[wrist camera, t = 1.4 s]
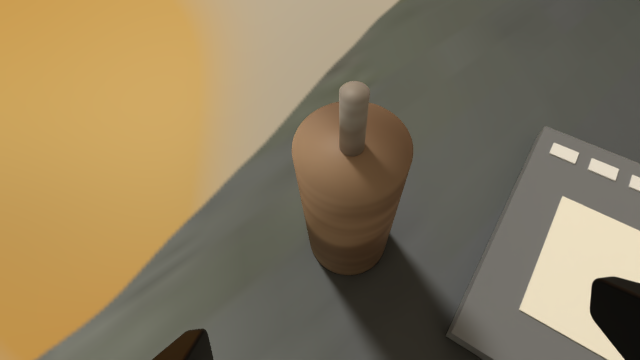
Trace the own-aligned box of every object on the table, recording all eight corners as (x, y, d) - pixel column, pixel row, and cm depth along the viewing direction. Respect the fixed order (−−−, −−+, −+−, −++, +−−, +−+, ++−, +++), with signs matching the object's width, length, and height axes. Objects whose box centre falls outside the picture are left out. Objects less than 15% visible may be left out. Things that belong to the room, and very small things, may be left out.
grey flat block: (726, 512, 16) (756, 522, 15) (445, 335, 20) (451, 332, 19) (754, 225, 22) (776, 216, 21) (537, 136, 26) (545, 124, 25)
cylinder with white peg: (361, 290, 21) (384, 179, 10) (295, 248, 23) (251, 111, 12) (399, 226, 23) (453, 73, 12) (335, 192, 25) (332, 26, 13)
